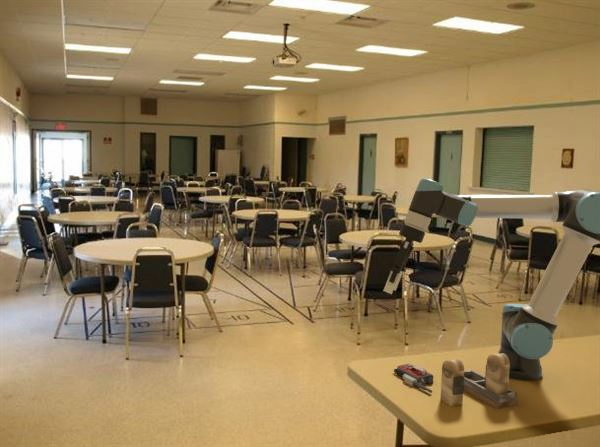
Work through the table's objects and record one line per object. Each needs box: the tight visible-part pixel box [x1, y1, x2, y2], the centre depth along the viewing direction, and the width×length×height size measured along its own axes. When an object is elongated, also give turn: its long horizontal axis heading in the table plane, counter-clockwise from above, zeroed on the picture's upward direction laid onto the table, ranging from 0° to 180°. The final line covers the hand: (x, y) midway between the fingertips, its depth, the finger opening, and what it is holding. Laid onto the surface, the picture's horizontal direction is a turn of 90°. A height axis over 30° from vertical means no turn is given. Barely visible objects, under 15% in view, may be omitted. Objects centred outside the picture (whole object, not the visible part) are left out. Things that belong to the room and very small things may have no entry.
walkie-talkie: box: [393, 363, 434, 394], centre depth 192 cm, size 9×4×20 cm
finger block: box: [440, 358, 465, 407], centre depth 176 cm, size 4×6×12 cm
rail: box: [464, 353, 519, 409], centre depth 183 cm, size 8×20×14 cm, turn 23°
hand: (389, 290), depth 190 cm, fingers open, 13 cm apart
